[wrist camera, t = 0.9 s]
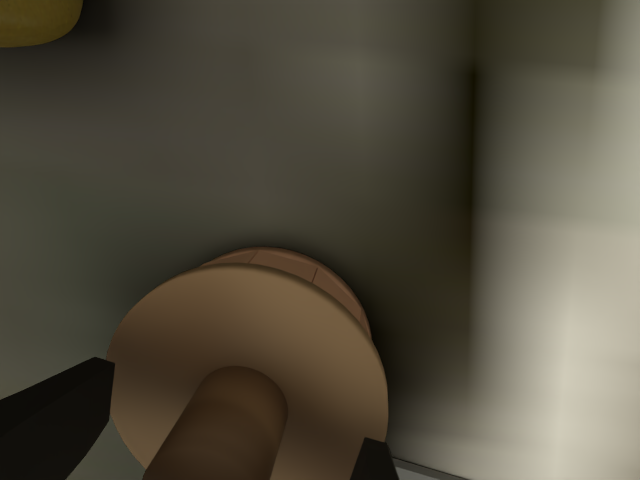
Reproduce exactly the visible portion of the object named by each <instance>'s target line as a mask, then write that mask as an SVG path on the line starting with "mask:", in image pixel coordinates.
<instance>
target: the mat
mask: <svg viewBox="0 0 640 480" xmlns="http://www.w3.org/2000/svg"><path fill="white" fill-rule="evenodd" d="M393 462H394V465H395V468H396V471H397V473H398V476H399V479H400V480H465V479H462V478H459V477H455V476H452V475H449V474H445V473H442V472H438V471H435V470H432V469H428V468H425V467H422V466H418V465H415V464H412V463H408V462H405V461H401V460H398V459H395V458H393Z"/></svg>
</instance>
